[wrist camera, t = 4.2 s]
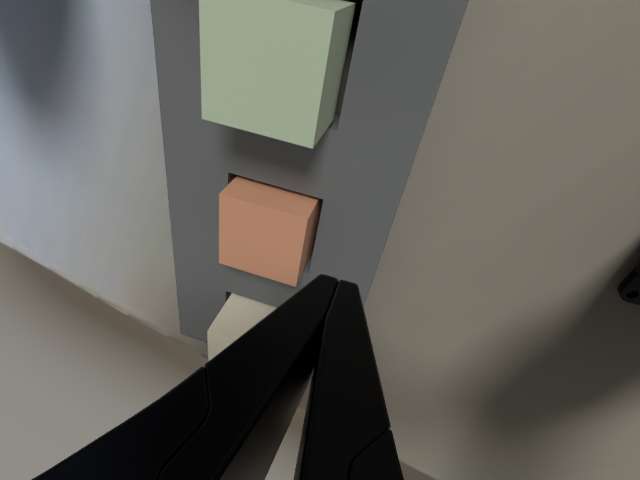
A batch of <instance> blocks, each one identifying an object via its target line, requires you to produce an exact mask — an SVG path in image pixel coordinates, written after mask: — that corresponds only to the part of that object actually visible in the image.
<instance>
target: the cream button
mask: <svg viewBox="0 0 640 480" xmlns="http://www.w3.org/2000/svg"><path fill="white" fill-rule="evenodd" d="M276 308H277V307H274V306H271V305H268V304H265V303H262V302H259V301H255V300H252V299H249V298H246V297H243V296H240V295H237V294H234V293H232V294H231V295H230V297H229V298H228V300H227V301H226V303H225V304H224V306H223V308H222V309H221V311H220V312H219V314H218V315H217V317H216V318H215V320H214V321H213V323H212V324H211V326H210V327H209V329H208V331H207V338H208V361H210V360H211V359H212V358H214V357H215V356H216V355H217V354H219V353H220V352H221V351H222V350H224V349H225V348H226V347H228V346H229V345H230V344H231V343H233V342H234V341H235V340H237V339H238V338H239V337H240V336H242V335H243V334H244V333H245V332H247V331H248V330H249V329H251V328H252V327H253V326H254V325H256V324H257V323H258V322H260V321H261V320H262V319H263V318H265V317H266V316H267V315H268V314H270V313H271V312H272V311H274V310H275V309H276Z"/></svg>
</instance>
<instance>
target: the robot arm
mask: <svg viewBox="0 0 640 480" xmlns="http://www.w3.org/2000/svg"><path fill="white" fill-rule="evenodd" d="M632 290H635V291H633V292H630V293H627V292H629V291H632ZM618 293H619V295H620V297H621V298H622V299H623V300H625V301H627V302H631V303H634V304H638V305H640V262H639V263H638V264H637V266H636V267H635V269H634V270H633V271H632V272H631V273H630V274H629V276H628V277H627V278H626V279H625V280H624V281H623V282H622V283H621V284H620V286H619V287H618ZM313 370H314V371H313ZM312 373H313V375H312ZM311 375H312V380H311V385H310V390H309V396H308V401H307V407H306V413H305V418H304V424H303V429H302V435H301V441H300V446H299V452H298V458H297V463H296V469H295V475H294V480H404V478H403V474H402V470H401V467H400V463H399V459H398V455H397V451H396V447H395V442H394V438H393V434H392V431H391V430H389V429H390V421H389V417H388V413H387V408H386V404H385V400H384V395H383V391H382V387H381V382H380V378H379V374H378V369H377V365H376V360H375V356H374V352H373V347H372V343H371V339H370V334H369V330H368V326H367V321H366V317H365V313H364V308H363V304H362V299H361V295H360V291H359V287H358V285H357V284H356V283H353V282H349V281H346V280H340V281H339V282H338V279H337V278H335V277H332V276H328V275H325V274H320V275H318V276H317V277H316V278H314V279H313V280H312V281H311V282H309V283H308V284H307V285H305V286H304V287H303V288H302V289H300V290H299V291H298V292H297V293H295V294H294V295H293V296H291V297H290V298H289V299H288V300H286V301H285V302H284V303H283V304H281V305H280V306H279V307H277V308H276V309H275V310H274V311H272V312H271V313H270V314H268V315H267V316H266V317H265V318H263V319H262V320H261V321H260V322H258V323H257V324H256V325H254V326H253V327H252V328H251V329H249V330H248V331H247V332H245V333H244V334H243V335H242V336H240V337H239V338H238V339H237V340H235V341H234V342H233V343H231V344H230V345H229V346H228V347H226V348H225V349H224V350H222V351H221V352H220V353H219V354H217V355H216V356H215V357H214V358H212V359H211V360H210V361H208V362H207V363H206V364H205V368H204V367H200V369H198V370H197V371H195V372H194V373H193V374H192V375H190V376H189V377H188V378H186V379H185V380H184V381H183V382H181V383H180V384H179V385H177V386H176V387H175V388H173V389H172V390H170V391H169V392H168V393H166V394H165V395H164V396H162V397H161V398H160V399H158V400H156V401H155V402H153V403H152V404H150V405H149V406H147V407H146V408H145V409H143V410H141V411H140V412H138V413H137V414H135V415H134V416H132V417H131V418H129V419H128V420H126V421H125V422H123V423H121V424H120V425H118V426H117V427H115V428H114V429H112V430H110V431H109V432H107V433H106V434H104V435H102V436H101V437H99V438H98V439H96V440H95V441H93V442H91V443H90V444H88V445H87V446H85V447H83V448H82V449H80V450H79V451H77V452H76V453H74V454H72V455H71V456H69V457H68V458H66V459H64V460H63V461H61V462H60V463H58V464H57V465H55V466H54V467H52V468H50V469H49V470H47V471H45V472H44V473H42V474H40V475H39V476H37V477H35V478H34V479H32V480H265V477H266V475H267V473H268V471H269V468H270V466H271V464H272V462H273V460H274V458H275V455H276V453H277V451H278V449H279V446H280V444H281V442H282V440H283V438H284V435H285V433H286V431H287V429H288V427H289V425H290V422H291V420H292V418H293V416H294V414H295V411H296V409H297V407H298V405H299V403H300V400H301V398H302V396H303V394H304V392H305V389H306V387H307V385H308V383H309V380H310V378H311Z"/></svg>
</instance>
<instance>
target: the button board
mask: <svg viewBox="0 0 640 480" xmlns="http://www.w3.org/2000/svg"><path fill="white" fill-rule="evenodd" d="M468 1H469V0H363V3H362V8H361V13H360V18H359V23H358V28H357V33H356V38H355V43H354V48H353V53H352V58H351V63H350V68H349V73H348V78H347V83H346V88H345V94H344V99H343V104H342V109H341V114H340V115H337V114H335V116H334V120H333V121H332V123H331V124H330V126H329V127H328V128H327V130H326V131H325V132H324V134H323V135H322V137H321V138H320V139H319V141H318V142H317V143H316V145H315V146H314V148H313V149H312V148H308V147H304V146H301V145H297V144H293V143H289V142H286V141H282V140H278V139H275V138H271V137H267V136H263V135H260V134H256V133H252V132H249V131H245V130H241V129H237V128H234V127H230V126H226V125H223V124H219V123H215V122H212V121H208V120H204V119H202V105H201V66H200V27H199V0H150V3H151V13H152V24H153V35H154V46H155V57H156V68H157V79H158V90H159V100H160V111H161V122H162V133H163V144H164V155H165V166H166V176H167V187H168V198H169V209H170V220H171V231H172V242H173V253H174V263H175V274H176V285H177V296H178V307H179V318H180V329H181V334H183V335H186V336H189V337H192V338H195V339H198V340H201V341H204V342H207V343H208V338H207V331H208V329H209V327H210V326H211V324H212V323H213V321H214V320H215V318H216V317H217V315H218V314H219V312H220V311H221V309H222V308H223V306H224V304H225V303H226V301H227V300H228V298H229V297H230V295H231V294H232V293H234V294H237V295H240V296H243V297H246V298H249V299H252V300H255V301H259V302H262V303H265V304H268V305H271V306H274V307H279V306H280V305H281V304H283V303H284V302H285V301H286V300H288V299H289V298H290V297H291V296H293V295H294V294H295V293H297V292H298V291H299V290H300V289H302V288H303V287H304V286H305V285H307V284H308V283H309V282H311V281H312V280H313V279H314V278H316V277H317V276H318V275H320V274H325V275H328V276H332V277H335V278H337V279H338V282H339V281H340V280H346V281H349V282H353V283H356V284H357V285H358V287H359V291H360V295H361V299H362V304H363V307H364V304H365V301H366V298H367V295H368V293H369V290H370V287H371V284H372V281H373V278H374V275H375V272H376V269H377V266H378V263H379V260H380V258H381V255H382V252H383V249H384V246H385V243H386V240H387V237H388V234H389V231H390V228H391V225H392V222H393V220H394V217H395V214H396V211H397V208H398V205H399V202H400V199H401V196H402V193H403V190H404V187H405V185H406V182H407V179H408V176H409V173H410V170H411V167H412V164H413V161H414V158H415V155H416V152H417V150H418V147H419V144H420V141H421V138H422V135H423V132H424V129H425V126H426V123H427V120H428V117H429V115H430V112H431V109H432V106H433V103H434V100H435V97H436V94H437V91H438V88H439V85H440V82H441V80H442V77H443V74H444V71H445V68H446V65H447V62H448V59H449V56H450V53H451V50H452V47H453V45H454V42H455V39H456V36H457V33H458V30H459V27H460V24H461V21H462V18H463V15H464V12H465V10H466V7H467V4H468ZM237 175H239V176H242V177H246V178H249V179H253V180H256V181H260V182H264V183H267V184H271V185H274V186H278V187H281V188H285V189H288V190H292V191H295V192H299V193H302V194H306V195H309V196H313V197H316V198H320V199H323V204H322V209H321V214H320V219H319V224H318V230H317V235H316V240H315V245H314V250H313V252H312V253H311V255H310V258H309V260H308V262H307V264H306V266H305V268H304V270H303V273H302V275H301V277H300V279H299V281H298V283H297V286H296V287H294V286H291V285H288V284H285V283H281V282H278V281H275V280H272V279H269V278H265V277H262V276H259V275H256V274H253V273H249V272H246V271H243V270H240V269H236V268H233V267H230V266H227V265H224V264H220V263H219V193H220V192H221V191H222V190H223V189H224V188H225V187H226V186H227V185H228V184H229V183H230V182H231V181H232V180H233V179H234V178H235V177H236V176H237ZM313 371H314V370H313ZM312 375H313V373H312ZM312 375H311V378H312Z"/></svg>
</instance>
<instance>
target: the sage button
mask: <svg viewBox="0 0 640 480" xmlns="http://www.w3.org/2000/svg"><path fill="white" fill-rule="evenodd" d="M355 5H356V3H353V2H349V1H345V0H199V27H200V66H201V105H202V119H204V120H208V121H212V122H215V123H219V124H223V125H226V126H230V127H234V128H237V129H241V130H245V131H249V132H252V133H256V134H260V135H263V136H267V137H271V138H275V139H278V140H282V141H286V142H289V143H293V144H297V145H301V146H304V147H308V148H312V149H313V148H314V146H315V145H316V143H317V142H318V141H319V139H320V138H321V137H322V135H323V134H324V132H325V131H326V130H327V128H328V127H329V126H330V124H331V123H332V121H333V120H334V116H335V111H336V105H337V100H338V95H339V89H340V84H341V79H342V74H343V68H344V63H345V58H346V52H347V47H348V42H349V37H350V31H351V26H352V21H353V16H354V10H355Z"/></svg>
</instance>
